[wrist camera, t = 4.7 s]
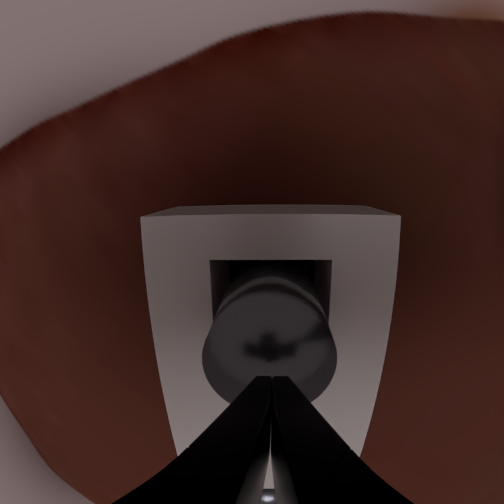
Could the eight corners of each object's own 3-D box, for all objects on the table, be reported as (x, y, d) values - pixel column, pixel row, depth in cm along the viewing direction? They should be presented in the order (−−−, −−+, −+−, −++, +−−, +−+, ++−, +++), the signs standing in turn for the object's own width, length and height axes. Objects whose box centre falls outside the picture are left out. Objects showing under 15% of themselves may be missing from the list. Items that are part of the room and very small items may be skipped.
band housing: (365, 205, 16) (400, 215, 11) (328, 480, 21) (334, 526, 16) (177, 206, 17) (140, 217, 12) (208, 478, 21) (198, 524, 16)
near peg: (320, 260, 13) (343, 301, 8) (315, 346, 14) (329, 412, 9) (221, 260, 13) (196, 300, 9) (226, 346, 14) (207, 411, 9)
